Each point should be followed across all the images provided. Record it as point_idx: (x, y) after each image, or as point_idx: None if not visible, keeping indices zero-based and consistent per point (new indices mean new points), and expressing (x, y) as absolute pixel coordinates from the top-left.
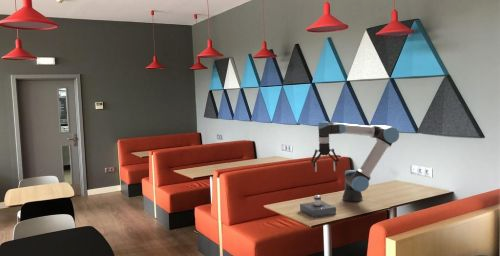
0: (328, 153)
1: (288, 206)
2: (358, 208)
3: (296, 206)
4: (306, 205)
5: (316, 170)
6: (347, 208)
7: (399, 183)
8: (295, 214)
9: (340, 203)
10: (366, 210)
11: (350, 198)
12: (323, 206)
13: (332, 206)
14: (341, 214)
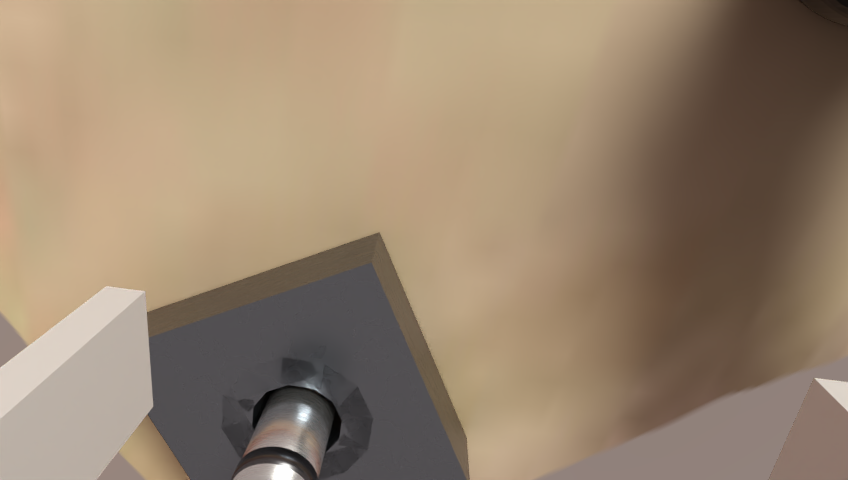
0: None
1: (6, 120)
2: (755, 293)
3: (101, 133)
4: (178, 404)
5: (120, 439)
6: (644, 279)
7: None
8: None
9: (652, 71)
10: (795, 362)
11: (844, 8)
12: (351, 455)
13: (442, 466)
14: (514, 438)
